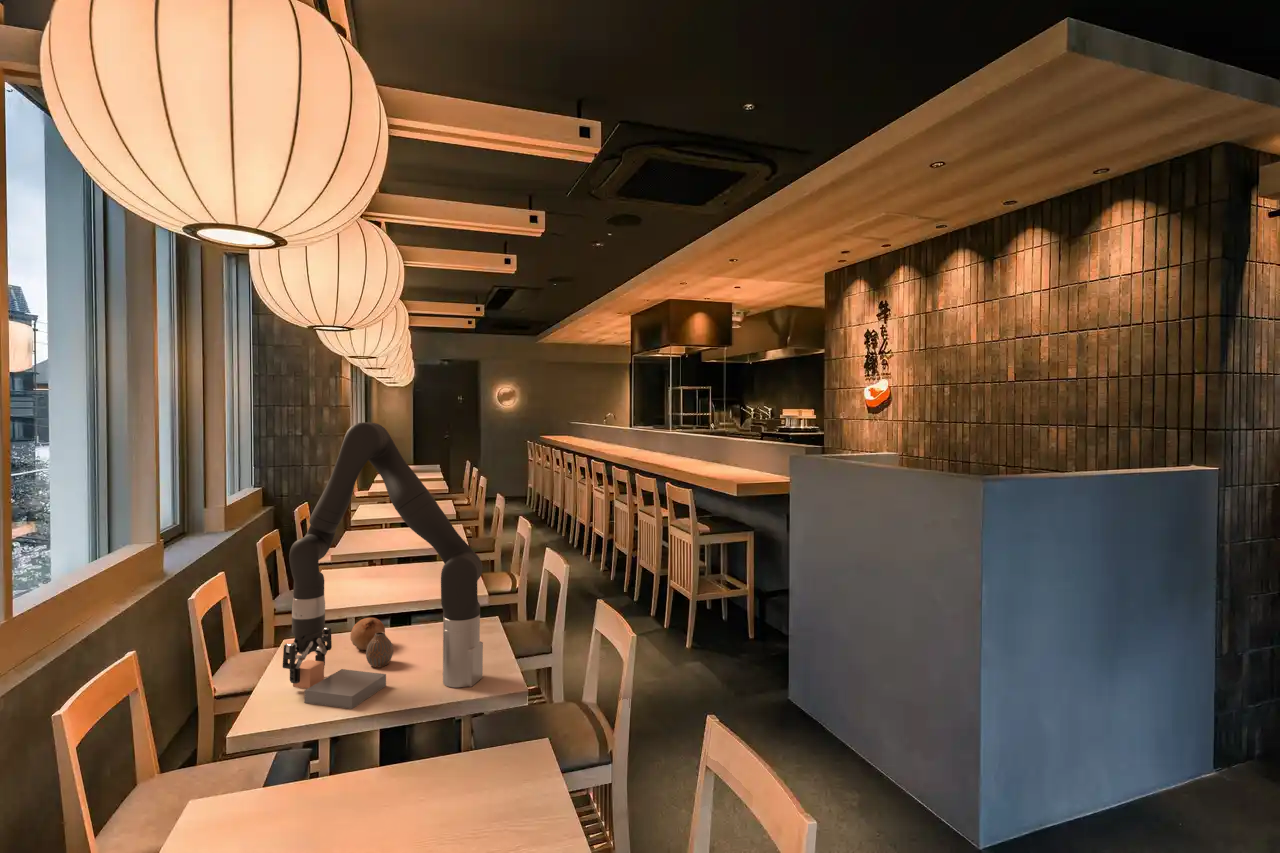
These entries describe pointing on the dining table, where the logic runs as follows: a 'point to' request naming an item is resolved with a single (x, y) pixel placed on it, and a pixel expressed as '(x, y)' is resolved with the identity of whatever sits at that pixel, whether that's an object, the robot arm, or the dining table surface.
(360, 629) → the brown round piece
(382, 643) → the vase
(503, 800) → the dining table surface
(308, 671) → the block
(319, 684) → the block
